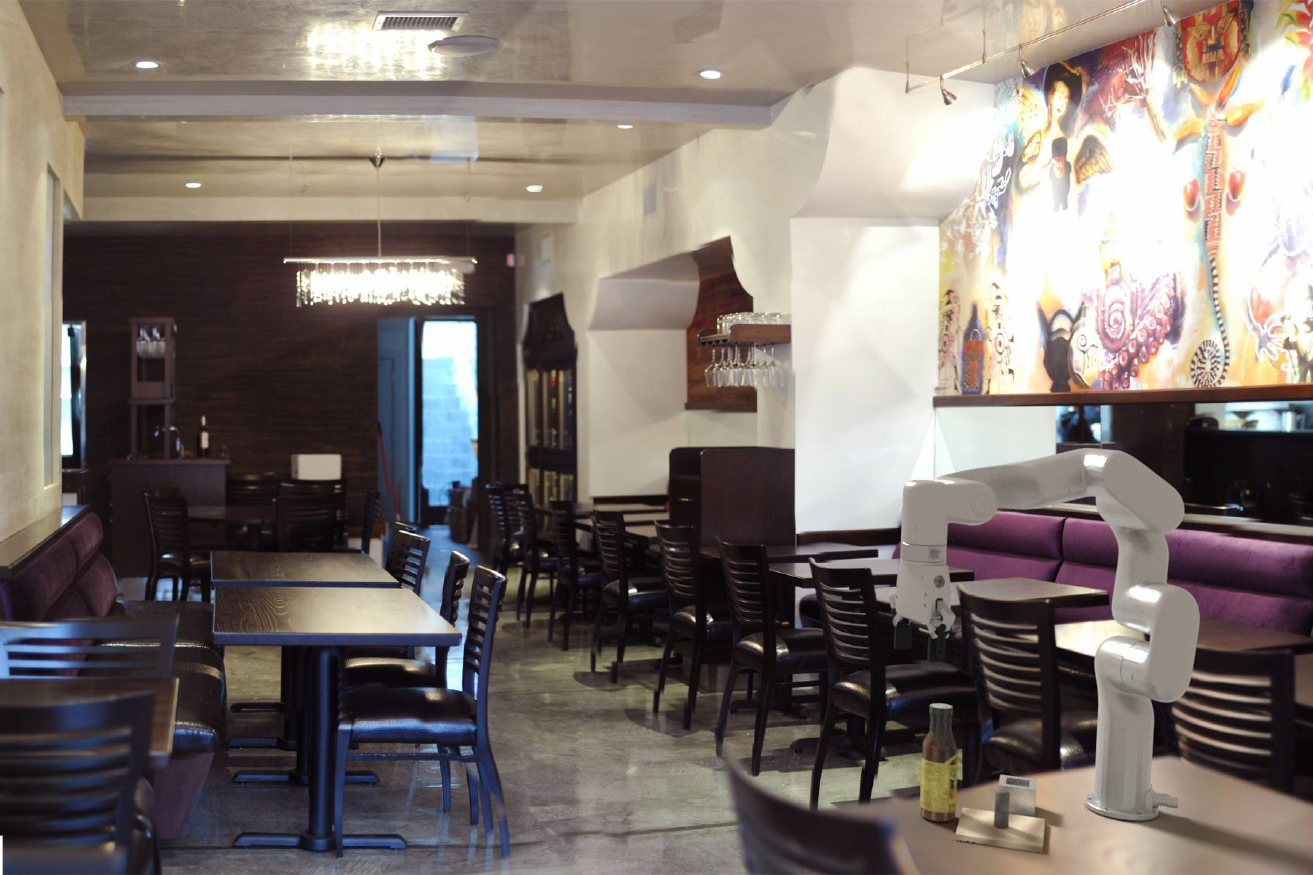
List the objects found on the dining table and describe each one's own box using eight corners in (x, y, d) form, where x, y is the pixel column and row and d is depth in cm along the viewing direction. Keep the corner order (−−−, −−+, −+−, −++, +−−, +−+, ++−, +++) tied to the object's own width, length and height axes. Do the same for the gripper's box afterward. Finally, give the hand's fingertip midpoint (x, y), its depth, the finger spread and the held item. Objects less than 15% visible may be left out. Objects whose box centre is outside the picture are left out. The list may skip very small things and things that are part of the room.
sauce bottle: (956, 825, 209) (961, 712, 208) (919, 821, 210) (924, 709, 210) (954, 812, 216) (959, 702, 215) (919, 809, 217) (923, 699, 216)
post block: (1044, 824, 211) (1046, 784, 211) (1042, 852, 198) (1044, 810, 197) (962, 812, 215) (964, 774, 215) (955, 839, 202) (956, 798, 202)
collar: (1035, 806, 220) (1036, 779, 220) (1034, 817, 214) (1035, 789, 214) (999, 801, 222) (1000, 774, 222) (997, 812, 216) (998, 784, 216)
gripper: (973, 560, 195) (969, 665, 196) (912, 546, 211) (908, 643, 212) (935, 562, 193) (930, 667, 193) (875, 547, 209) (871, 645, 209)
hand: (919, 654), depth 203 cm, fingers open, 9 cm apart
